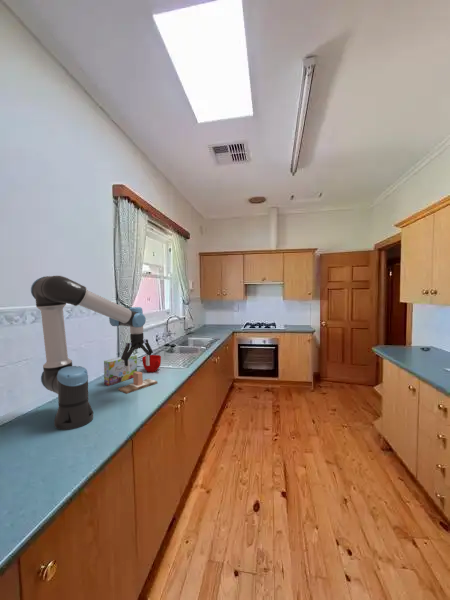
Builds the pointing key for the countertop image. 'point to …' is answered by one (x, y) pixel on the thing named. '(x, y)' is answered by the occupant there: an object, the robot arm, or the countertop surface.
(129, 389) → the board
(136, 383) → the stub
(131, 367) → the snack box
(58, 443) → the countertop surface
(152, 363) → the ceramic cup
